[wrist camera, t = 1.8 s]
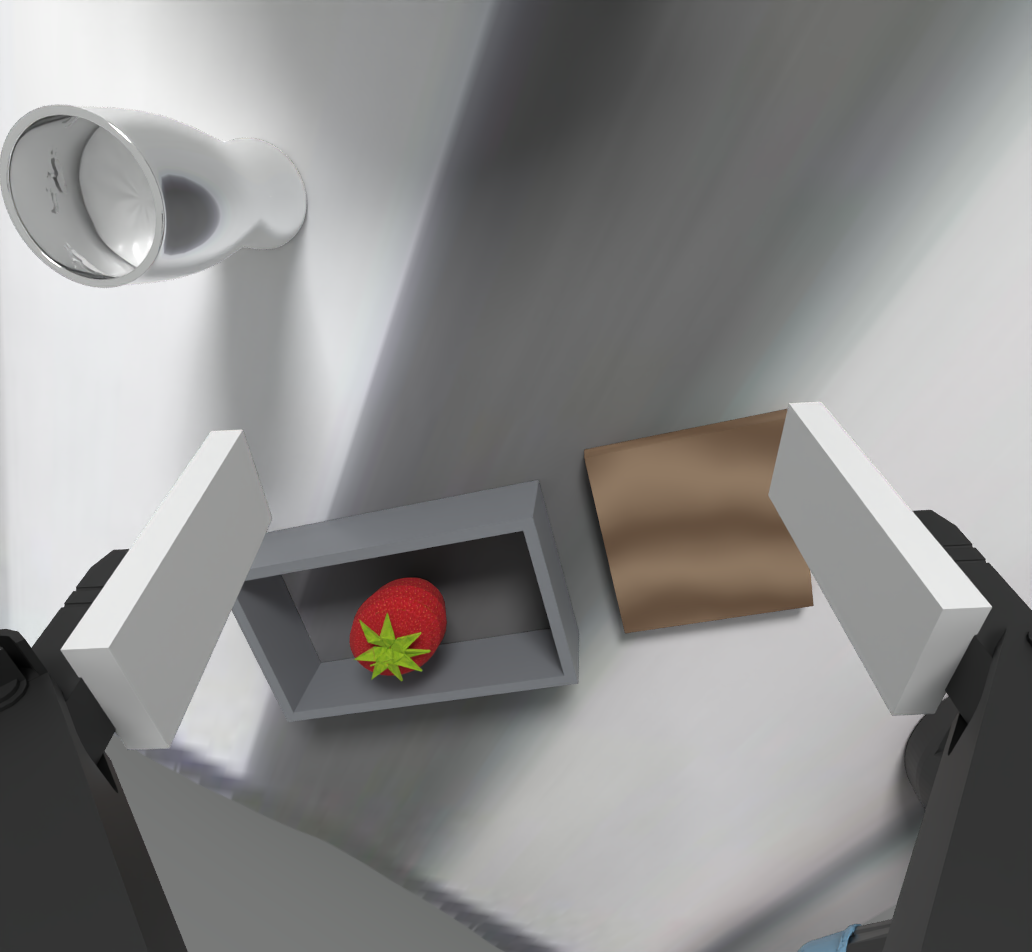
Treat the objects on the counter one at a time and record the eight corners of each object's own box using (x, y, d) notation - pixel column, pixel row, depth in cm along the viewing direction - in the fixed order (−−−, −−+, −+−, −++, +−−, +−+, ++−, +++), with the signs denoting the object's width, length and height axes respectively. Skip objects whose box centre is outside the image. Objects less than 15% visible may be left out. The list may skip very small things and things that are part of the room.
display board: (806, 593, 46) (813, 605, 45) (623, 620, 49) (624, 633, 47) (788, 408, 41) (795, 416, 40) (584, 449, 43) (584, 458, 42)
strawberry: (357, 591, 50) (306, 682, 41) (415, 528, 47) (374, 610, 38) (418, 636, 51) (382, 733, 42) (478, 576, 48) (453, 667, 39)
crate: (579, 633, 49) (578, 683, 44) (315, 671, 54) (287, 722, 49) (538, 479, 45) (532, 516, 40) (252, 535, 49) (214, 575, 44)
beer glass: (220, 262, 41) (37, 302, 27) (185, 138, 38) (-39, 111, 24) (326, 250, 40) (191, 283, 26) (298, 121, 37) (131, 84, 23)
